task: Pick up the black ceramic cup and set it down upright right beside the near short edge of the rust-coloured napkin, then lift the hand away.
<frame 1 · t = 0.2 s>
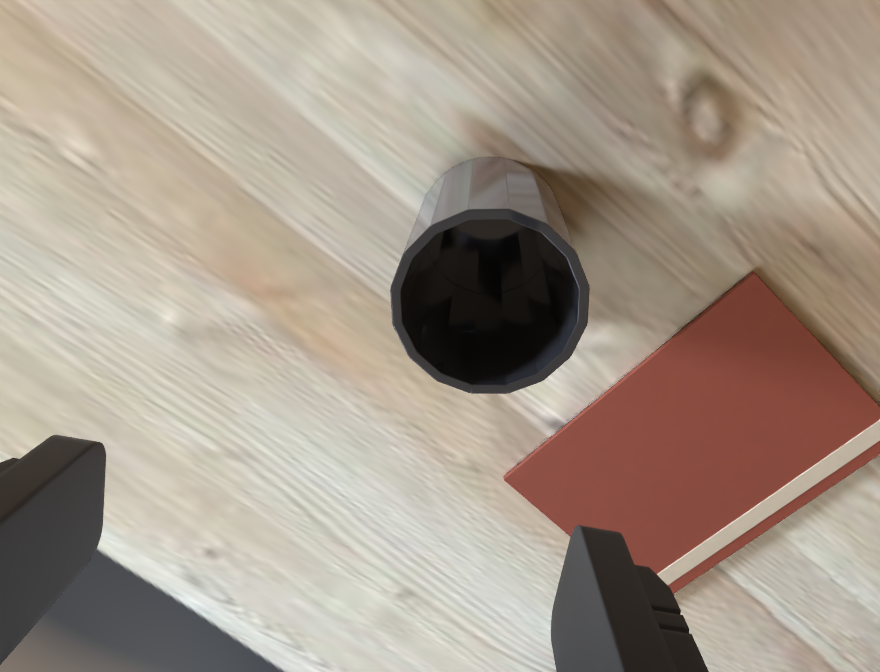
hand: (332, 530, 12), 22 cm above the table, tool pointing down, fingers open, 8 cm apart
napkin: (696, 455, 37), on the table
black cup: (489, 228, 33), on the table
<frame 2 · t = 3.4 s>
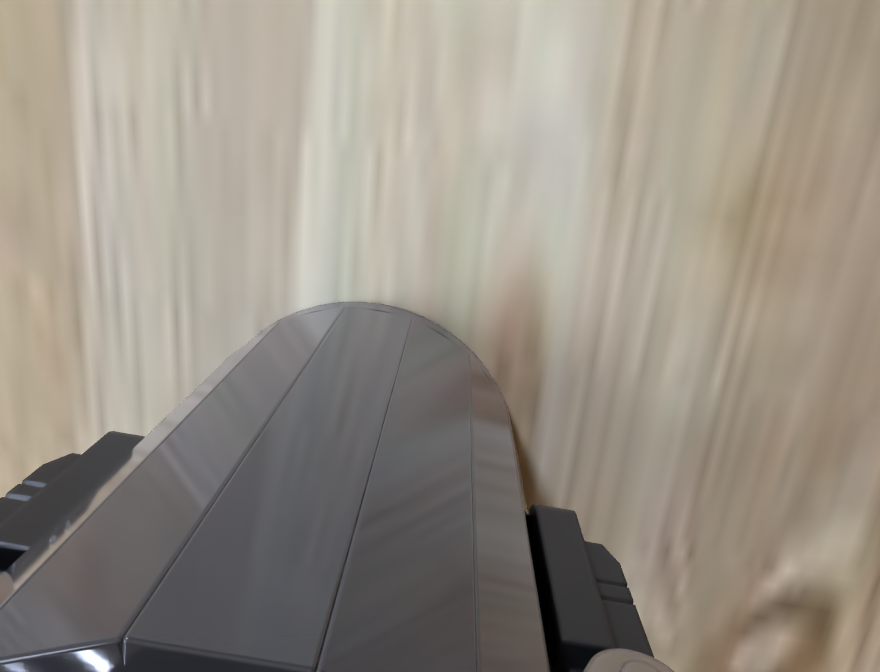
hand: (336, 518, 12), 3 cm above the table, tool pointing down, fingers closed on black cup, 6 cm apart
black cup: (360, 450, 15), on the table, touching gripper
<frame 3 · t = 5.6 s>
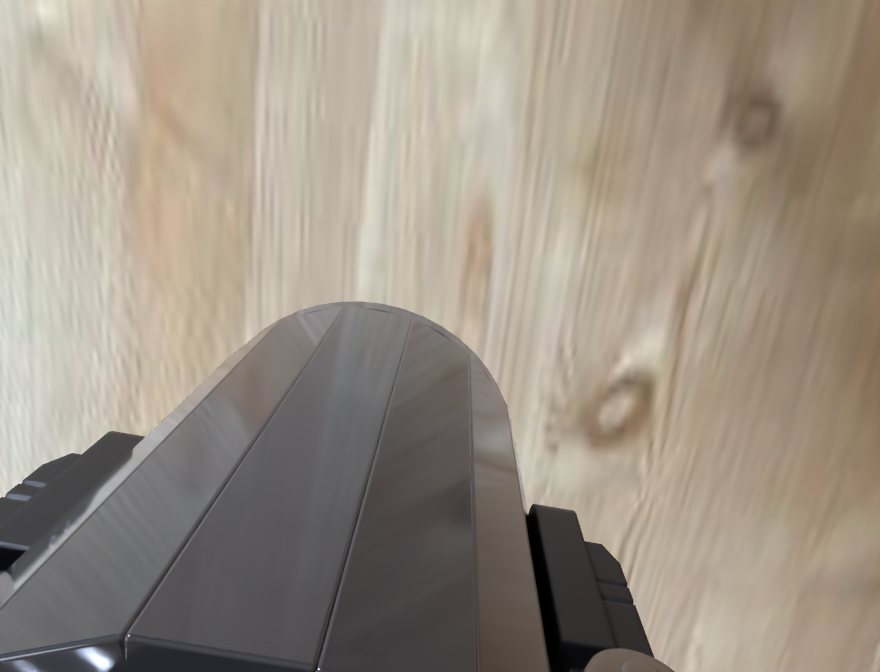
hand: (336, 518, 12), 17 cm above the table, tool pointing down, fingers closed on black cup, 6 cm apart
black cup: (360, 450, 15), point 14 cm above the table, touching gripper
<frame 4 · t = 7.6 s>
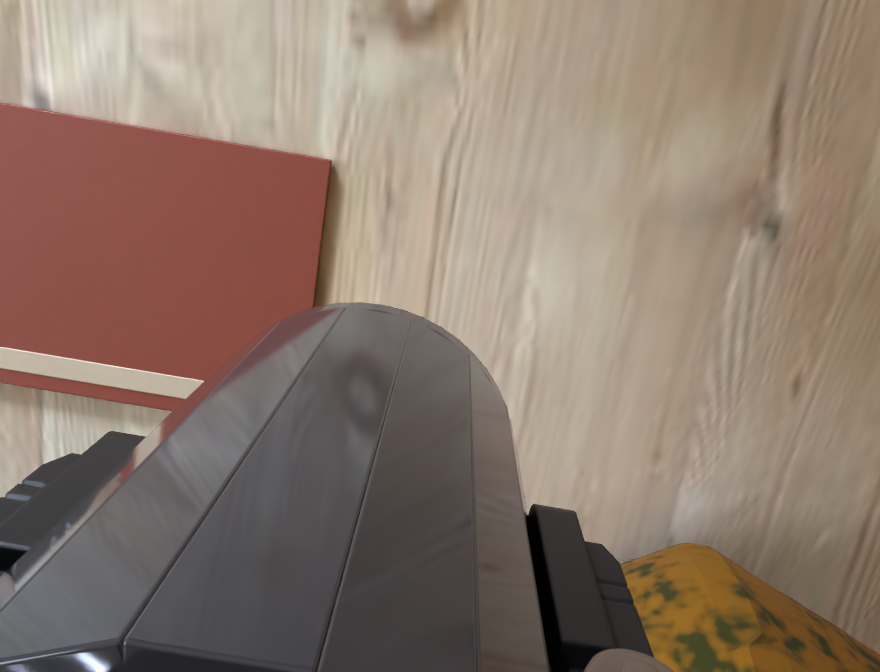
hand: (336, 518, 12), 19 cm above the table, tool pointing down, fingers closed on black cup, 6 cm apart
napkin: (129, 270, 31), on the table
black cup: (359, 451, 15), point 16 cm above the table, touching gripper
decorative pumpkin: (636, 671, 36), on the table
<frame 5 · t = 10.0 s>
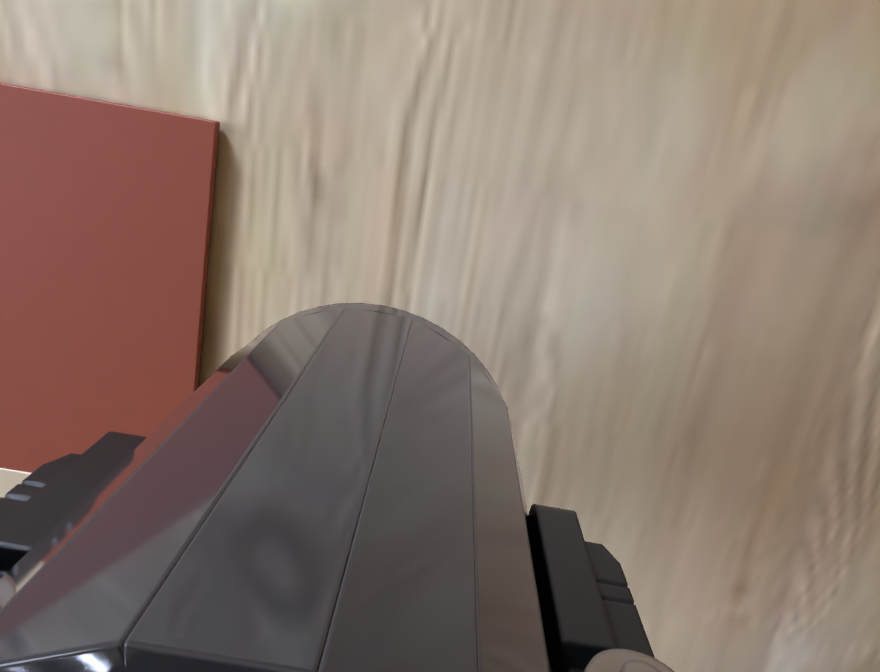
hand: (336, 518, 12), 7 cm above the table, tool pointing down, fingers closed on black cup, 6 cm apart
black cup: (360, 451, 15), point 4 cm above the table, touching gripper
when the fingers open (3 cm above the table, at t = 11.7 s): black cup stays where it is, on the table.
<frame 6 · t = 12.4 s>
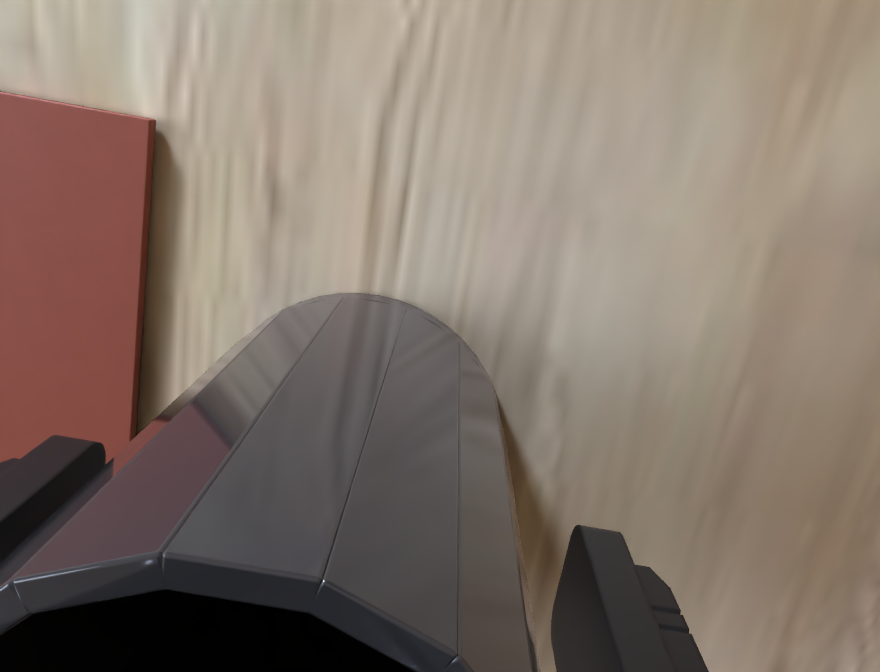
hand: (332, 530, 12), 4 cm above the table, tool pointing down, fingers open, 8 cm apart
black cup: (357, 433, 16), on the table
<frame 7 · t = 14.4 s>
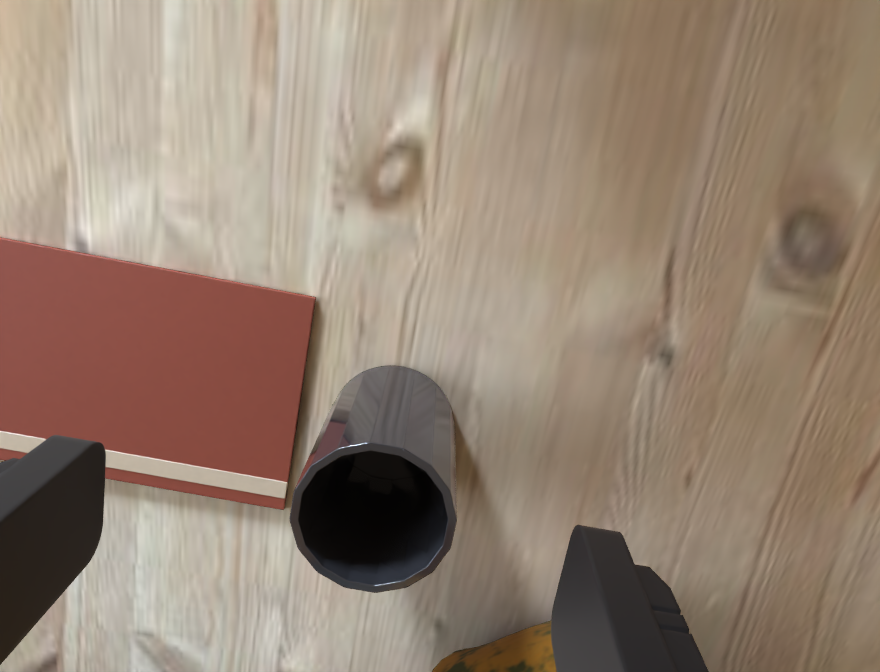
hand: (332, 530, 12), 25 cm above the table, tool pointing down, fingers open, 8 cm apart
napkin: (148, 378, 37), on the table
black cup: (392, 423, 38), on the table
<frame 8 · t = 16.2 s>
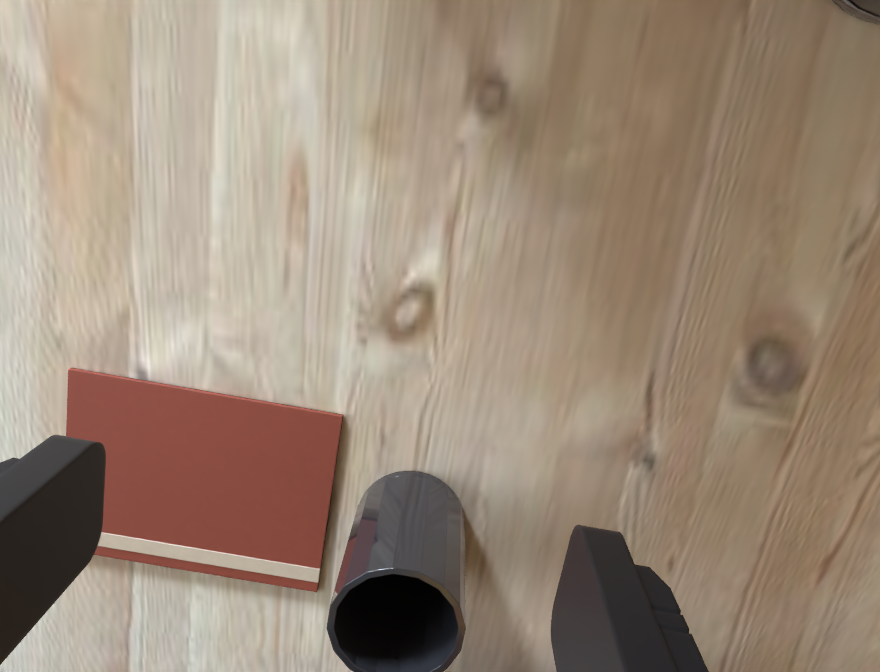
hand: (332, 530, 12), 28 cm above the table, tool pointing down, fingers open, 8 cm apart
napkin: (199, 483, 43), on the table
black cup: (410, 519, 44), on the table
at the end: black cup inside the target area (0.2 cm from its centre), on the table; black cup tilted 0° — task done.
